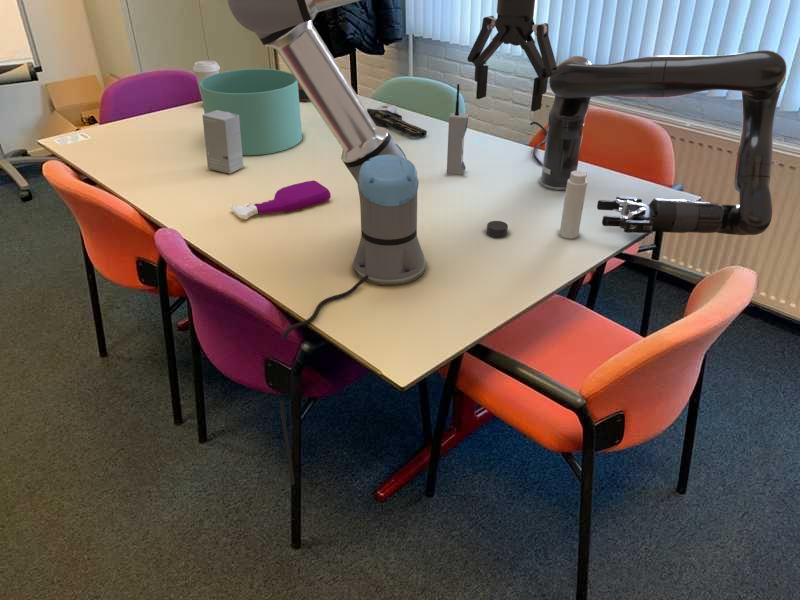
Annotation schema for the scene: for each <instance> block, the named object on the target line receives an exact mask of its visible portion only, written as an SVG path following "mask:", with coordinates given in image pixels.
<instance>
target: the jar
mask: <svg viewBox="0 0 800 600" xmlns="http://www.w3.org/2000/svg"><path fill="white" fill-rule="evenodd" d="M587 186H588V181H587V173H586V172H585V171H583V170H577V171H572V172H571V175H570V178H569V179H568V180H567V187H566V190H565V195H564V202H563V208H562V214H561V221H560V227H559V235H560V237H562V238H564V239H569V240H571V239H572V240H573V239H576V238H578V237H579V234H580V229H581V228H580V227H581V223H582V216H583V209H584V204H585V197H586V191H587V188H588V187H587Z"/></svg>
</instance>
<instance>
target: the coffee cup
mask: <svg viewBox="0 0 800 600" xmlns="http://www.w3.org/2000/svg"><path fill="white" fill-rule="evenodd" d="M193 64H194V65H193V66H192V71H193V72H194V74H195V78H196V83H197V87H198V90H199V94H200V98H201V99H202V96H201V90H200V82H201V81H202V80H203V79H204V78H206V77H208V76H211V75H214V74H217V73H220V70H221V67H220V65H219V63H218V62H217V61H215V60H200V61H195V62H194V63H193Z"/></svg>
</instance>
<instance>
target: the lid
mask: <svg viewBox="0 0 800 600" xmlns="http://www.w3.org/2000/svg"><path fill="white" fill-rule="evenodd" d="M508 229H509V225H508V223H507V222H505V221H502V220H492V221H488V222H487V224H486V235H487V236H489V237H491V238H496V239H499V238H501V239H502V238H504V237H507V235H508Z"/></svg>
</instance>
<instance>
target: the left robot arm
mask: <svg viewBox="0 0 800 600" xmlns="http://www.w3.org/2000/svg"><path fill="white" fill-rule="evenodd" d="M361 1H362V0H227V4H228V5H227V6H228V8H229V11H230V12H231V14H232V16H233V17H234V19H235V20H236V21H237V23H239V25H241V26H242V27H243V28H245V29H247V30H248V31H250V32H252V33H255V35H256V36H257V38H258V39H259V41H260V42H261V43H262V45H263V47H265V48H266V47H267V48H270V49H274V50H275V51H276V52H277V53H278V56H280V58H281V59H282V61H283V62H284V63H285V65H286V66H287V68H288V70H289V71H290V73H292V74H293V75H294V77H295V78H296V80H297V81H298V83H299V84H300V86H301V87H302V89H303V90H304V92H305V93H306V95H307V96H308V98H309V99H310V101H309V102H311V104H312V106H313V107H314V108H315V109H316V111H317V113H318V114H319V115H320V117H321V118H322V120H323V122H324V123H325V124H326V126H327V128H328V129H329V130H330V132H331V133H332V135H333V136H334V138H335V140H336V141H337V142H338V144H339V145H340V147H341V148H342V152H341V157H340V159H341V161H342V162H343V164H344V165H345V167H346V168H347V170H348V171H349V173H350V174H351V175H352V177H353V179H354V180H355V183H356V185H357V190H358V196H359V206H360V207H359V208H360V211H359V212H360V239H359V242H358V247H357V249H356V252H355V256H354V259H353V270H354V273H355V275H356V276H357V277H358V278H359V279H360V280H359V281H357V282H356V283H355V285H353V287H351V288H350V289H349V290H347V291H345V292H342V293H340V294H336V295H332V296H328V297H327V298H324V299H323V300H321V301H320V302H319V304H317V306H316V308H315V310H314V311H313V313H312V315H311V316H310V317H309V318H308V319H306V320H302V321H300V322H296V323H294V324H292V325H289V327H287V328H286V329H285V331H284V332H283V333H282V335H281V337H280V340H285V339H286V338H287V336H288V335H289V333H291V331H293V330H295V329H297V328H300V327H303V326H307V325H308V324H310V323H311V322H313V321H314V320H315V319H316V318H317V316H318V314H319V312H320V310H321V308H322V307H323V306H324V305H325V304H327V303H329V302H331V301H334V300H337V299H341V298H344V297H347V296H349V295H351V294H352V293H354V292H355V291H356V290H357V289H358V288H359V287H360V286H361V285H362V284H364V282H366V283H369V284H370V285H371V284H372V285H376V286H382V287H395V286H402V285H406V284H410V283H413V282H415V281H417V280H418V279H420V278H421V276H423V274H424V273H425V270H426V261H425V255H424V252H423V250H422V247H421V244H420V241H419V238H418V190H419V184H420V183H419V182H420V181H419V177H418V169H417V167H416V166H415V164H414V163H413V162H412V161H411V160H409V159H407V156H406V154H405V152H404V151H403V149H402V148H401V147H400V145H398V144H397V142H396V141H395V140H394V139H393V137H392V135H391V134H390V132H389V131H388V129H387V128H386V127H384V126H377V125H376V122H374V120H372V118H371V117H370V115H369V114H368V112H367V108H365V106H364V104H363V103H362V100H360V98H359V96H358V94H357V92H356V91H355V90H354V88H353V86H352V85H351V83H350V82H349V80H348V79H347V77H346V75H345V74H344V72H343V71H342V69H341V67H340V66H339V64H338V63H337V61H336V60H335V59H336V58H335V57H334V56H333V54H332V53H331V51H330V50H329V48H328V46H327V44H326V43H325V42H324V40H323V39H322V37H321V35H320V34H319V32H318V31H317V29H316V27H315V26H314V24H313V21H314V20H315V18H316V16H317V15H318V14H319V12H324V11H327V10H330V9H334V8H339V7H342V6H346V5H349V4H352V3H357V2H361ZM537 1H538V0H497V4H496V14H497V16H496V18H495V16H494V15H488V16H485V17H483V18H482V23H481V28H480V31H479V32H478V35H477V36H476V39H475V41H474V42H473V45H472V47H471V49H470V52H469V54H468V55H467V62H468V63H471V64H473V65H474V82H476V95H475V99H476V100H480V99H483V98H486V97H487V90H488V76H489V75H488V74H489V65H487V62H488V60H489V59H490V58H491V57H492V56H493V55H494V53H496V52H497V50H498V49H499V48H500V47H501V46H502V44H504V45H512V46H514V47H515V46H516V47H517V46H520V48H521V49H522V50H523V51H524V53H525V55H526V56H527V58H528V61H529V62H530V64H531V66H532V68H533V70H534V72H535V73H536V75H537V77H534V79H533V87H532V88H533V89H532V94H531V95H532V96H531V105H530V112H537V111H539V110H541V108H542V102H543V95H545V94H546V93H547V89H548V82H549V79H550V77H551V76H554V75H556V74H558V68H557V66H558V64H557V62H556V58H555V55H554V51H553V48H552V44H551V39H550V37H549V24H548V23H547V22H543V23H537V24H536V23H535V19H534V18H535V15H536V10H537ZM493 29H496V31H497V33H496V34H495V35H494V36H493V37H492V39H491V41H490V42H489V44H488V45H487V46H486V44H487V42H488V40H489V38H490V36H491V34H492V33H493ZM533 33H534V35H535V36H536V42H535V39H534V38H533V37H534V36H532V34H533ZM536 43H537V46H536ZM485 46H486V47H485ZM537 47H538V48H537ZM538 49H539V50H538ZM279 409H280V418H281V424H282V432H283V438H284V444H285V449H286V456H287V462H288V470H289V478H290V484H291V485H292V486H293V485H295V475H294V474H295V473H294V467H293V466H294V465H293V461H292V453H291V448H290V447H291V446H290V441H289V435H288V428H287V421H286V413H285V405H284V399H279Z"/></svg>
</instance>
